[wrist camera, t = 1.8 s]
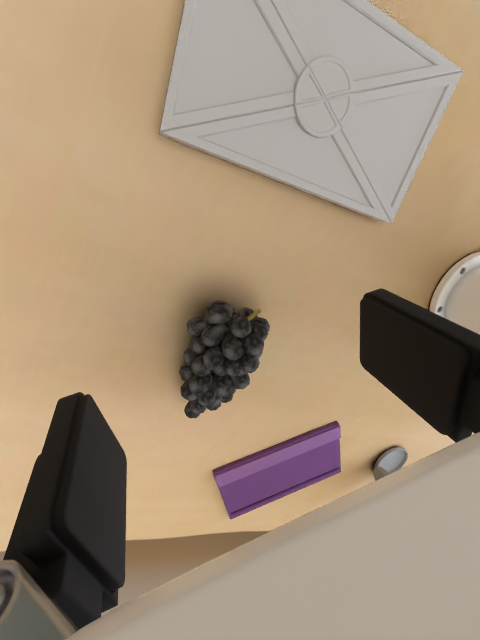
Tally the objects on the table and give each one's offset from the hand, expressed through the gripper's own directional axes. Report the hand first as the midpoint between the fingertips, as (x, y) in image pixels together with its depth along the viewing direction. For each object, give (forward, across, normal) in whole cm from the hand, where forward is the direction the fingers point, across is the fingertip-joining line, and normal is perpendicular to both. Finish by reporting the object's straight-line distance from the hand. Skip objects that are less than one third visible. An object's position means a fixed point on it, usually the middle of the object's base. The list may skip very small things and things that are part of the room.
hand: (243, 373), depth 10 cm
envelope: (+21, -15, -8) cm, 28 cm away
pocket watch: (+21, -25, +47) cm, 57 cm away
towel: (+21, -6, +38) cm, 44 cm away
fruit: (+21, 0, +12) cm, 25 cm away
